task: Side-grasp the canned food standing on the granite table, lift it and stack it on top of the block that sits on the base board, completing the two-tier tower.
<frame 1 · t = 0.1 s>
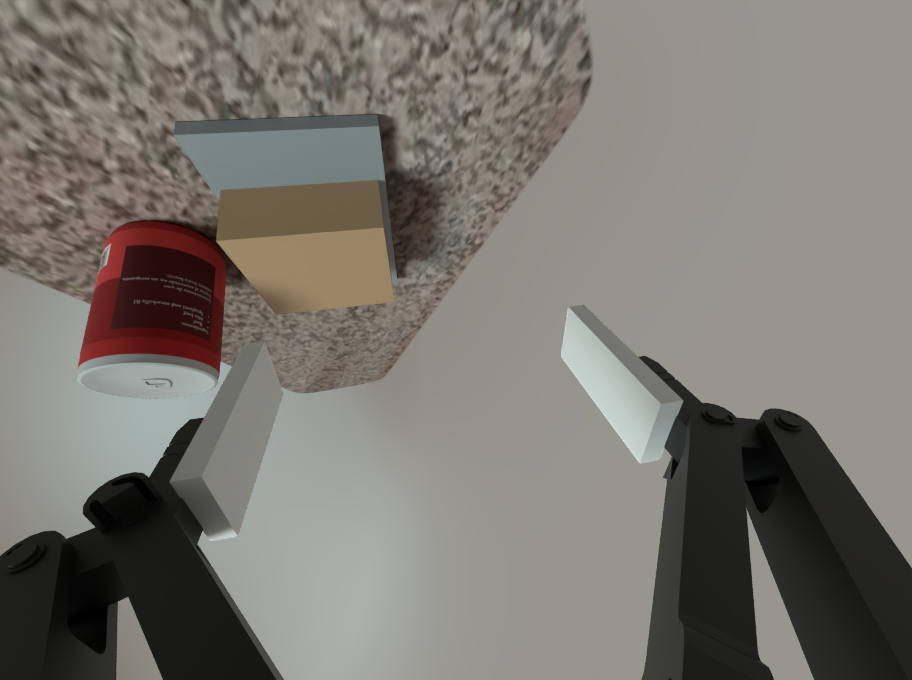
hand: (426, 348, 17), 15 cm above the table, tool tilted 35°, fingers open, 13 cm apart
canned food: (171, 249, 30), on the table
plinth: (320, 223, 30), on the table
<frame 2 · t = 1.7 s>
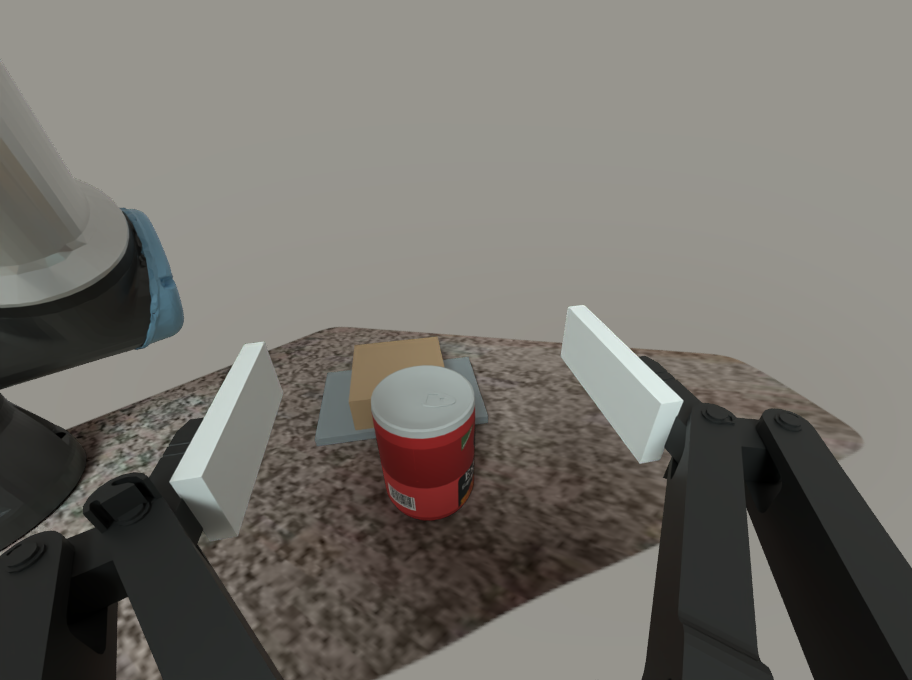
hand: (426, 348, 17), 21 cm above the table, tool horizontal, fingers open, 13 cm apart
canned food: (430, 485, 35), on the table
plinth: (402, 399, 44), on the table
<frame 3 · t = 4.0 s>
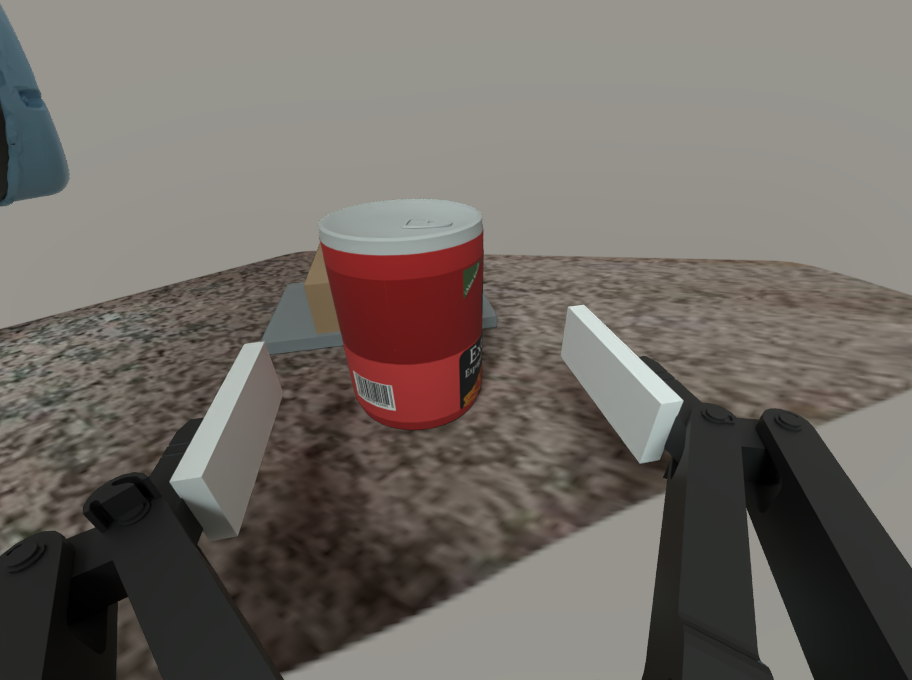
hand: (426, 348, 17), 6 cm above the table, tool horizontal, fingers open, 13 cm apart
canned food: (419, 392, 24), on the table
plinth: (383, 308, 34), on the table
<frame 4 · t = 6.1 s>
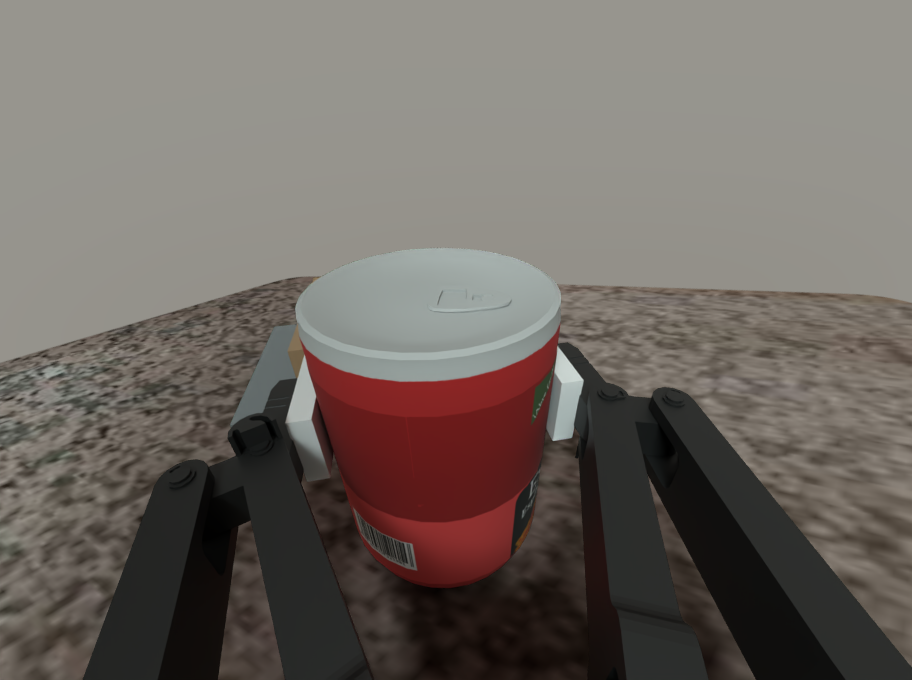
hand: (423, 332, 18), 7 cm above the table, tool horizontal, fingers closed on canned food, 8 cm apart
canned food: (445, 507, 17), on the table, touching gripper
plinth: (391, 361, 27), on the table
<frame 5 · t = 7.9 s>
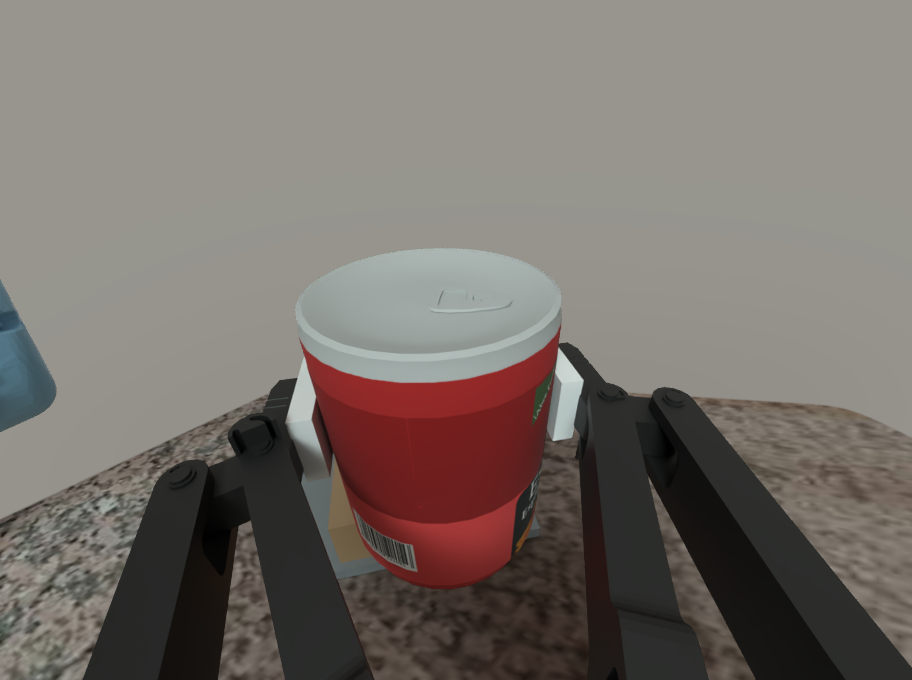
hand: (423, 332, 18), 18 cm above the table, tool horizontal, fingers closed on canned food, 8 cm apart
canned food: (445, 508, 17), point 11 cm above the table, touching gripper
plinth: (409, 494, 31), on the table
when the fingers open (13 cm above the table, at t = 9.8 s): canned food drops 1 cm, resting on plinth.
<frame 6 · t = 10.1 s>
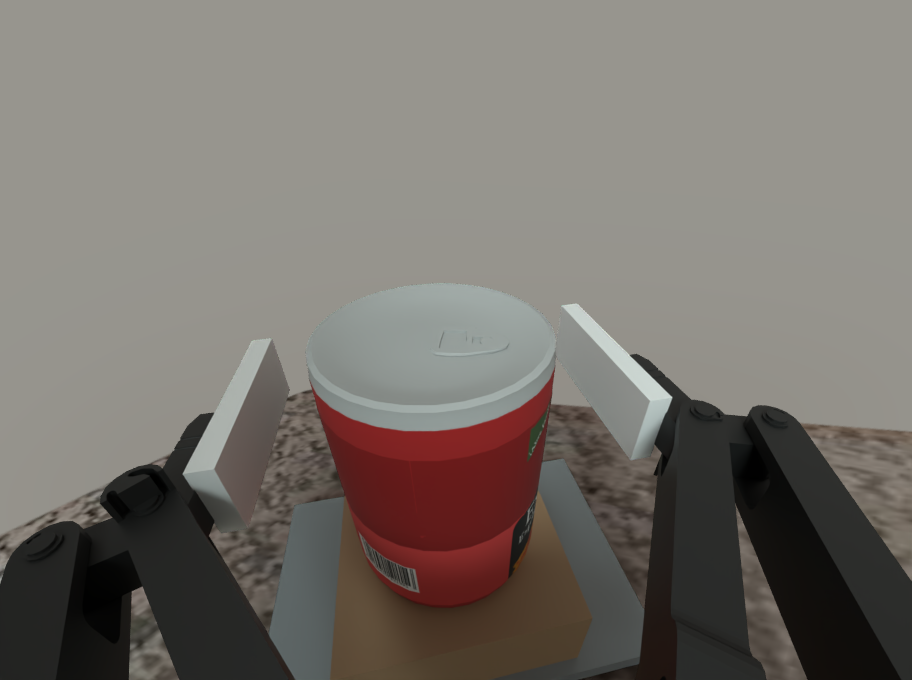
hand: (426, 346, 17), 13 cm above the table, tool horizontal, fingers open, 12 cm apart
canned food: (446, 526, 18), point 5 cm above the table, touching plinth
plinth: (450, 574, 21), on the table
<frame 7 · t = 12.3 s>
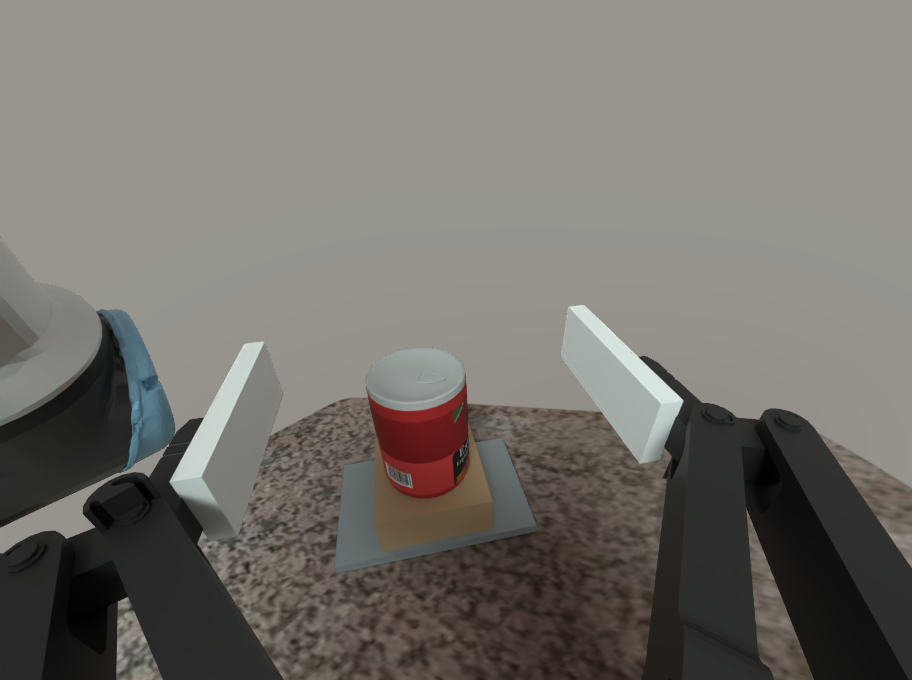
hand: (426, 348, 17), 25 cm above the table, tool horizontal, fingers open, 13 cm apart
canned food: (428, 467, 35), point 5 cm above the table, touching plinth
plinth: (432, 498, 38), on the table
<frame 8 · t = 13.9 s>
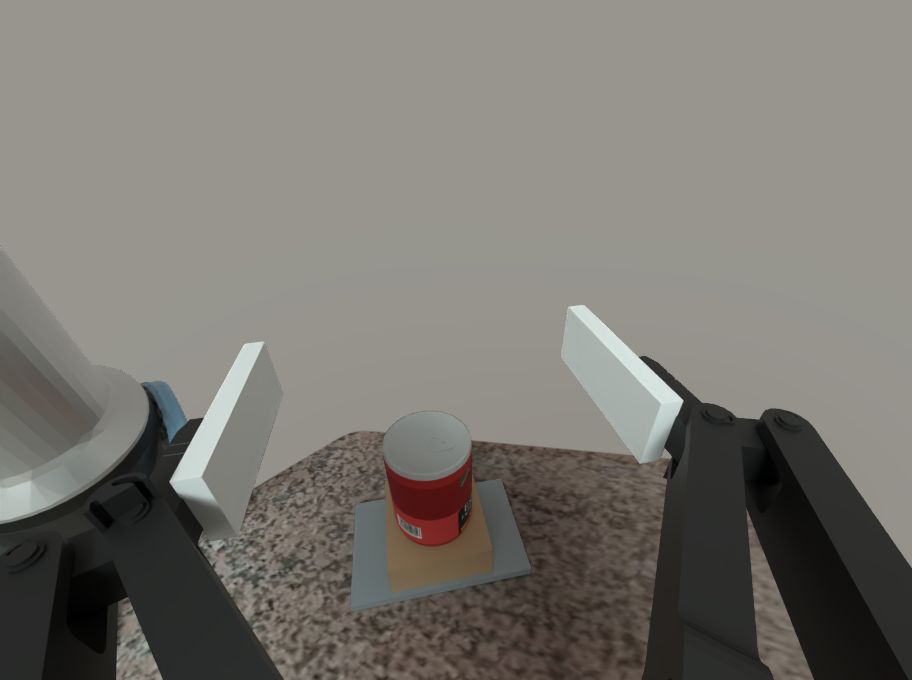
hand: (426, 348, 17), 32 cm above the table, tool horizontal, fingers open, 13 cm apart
canned food: (434, 514, 39), point 5 cm above the table, touching plinth
plinth: (436, 538, 42), on the table
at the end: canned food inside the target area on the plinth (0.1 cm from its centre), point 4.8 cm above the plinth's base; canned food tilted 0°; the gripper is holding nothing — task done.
